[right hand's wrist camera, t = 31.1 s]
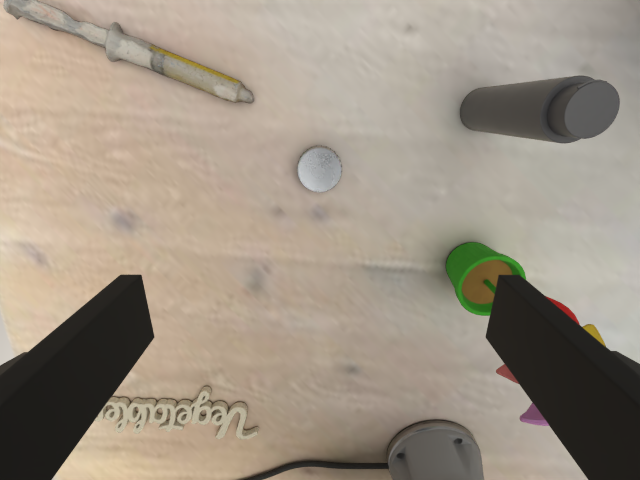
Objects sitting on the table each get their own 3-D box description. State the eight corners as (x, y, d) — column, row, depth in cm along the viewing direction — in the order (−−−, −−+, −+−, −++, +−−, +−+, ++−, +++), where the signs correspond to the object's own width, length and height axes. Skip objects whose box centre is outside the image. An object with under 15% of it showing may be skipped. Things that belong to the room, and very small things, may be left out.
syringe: (259, 87, 38) (255, 85, 36) (248, 120, 39) (243, 121, 37) (26, -19, 35) (3, -30, 32) (22, 20, 36) (-1, 13, 33)
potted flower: (455, 224, 44) (610, 357, 20) (510, 241, 45) (719, 387, 21) (426, 287, 47) (531, 463, 24) (478, 301, 48) (628, 485, 25)
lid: (302, 141, 40) (301, 143, 38) (345, 150, 41) (346, 152, 39) (294, 184, 42) (293, 188, 40) (336, 192, 43) (336, 196, 41)
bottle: (506, 116, 39) (635, 121, 23) (469, 138, 40) (569, 158, 24) (491, 79, 38) (617, 57, 22) (453, 102, 39) (547, 99, 23)
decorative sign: (256, 393, 53) (257, 440, 56) (257, 388, 53) (258, 435, 57) (83, 386, 52) (95, 434, 56) (87, 381, 53) (98, 429, 57)
